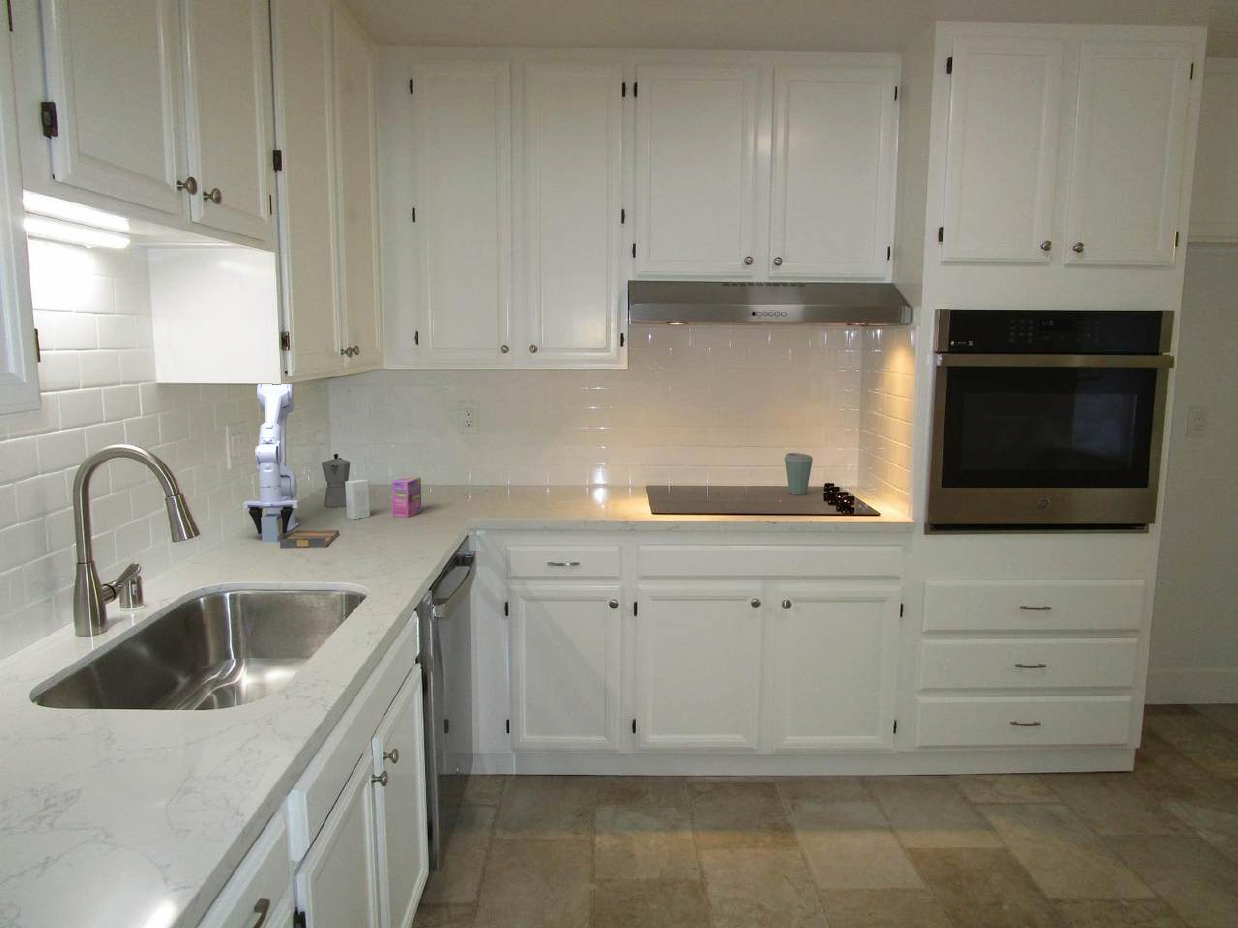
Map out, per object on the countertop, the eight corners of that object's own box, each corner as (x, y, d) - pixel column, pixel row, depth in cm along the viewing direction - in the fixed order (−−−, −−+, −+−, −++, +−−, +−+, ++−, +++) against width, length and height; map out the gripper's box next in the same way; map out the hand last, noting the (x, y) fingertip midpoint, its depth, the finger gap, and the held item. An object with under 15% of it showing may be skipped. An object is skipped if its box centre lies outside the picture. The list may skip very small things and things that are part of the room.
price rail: (281, 547, 235) (280, 538, 235) (326, 546, 236) (325, 537, 236) (279, 548, 234) (279, 539, 234) (325, 547, 235) (324, 538, 235)
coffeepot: (348, 508, 290) (346, 456, 288) (319, 509, 289) (317, 456, 287) (356, 500, 306) (354, 450, 303) (328, 501, 304) (326, 450, 302)
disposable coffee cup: (816, 492, 326) (817, 453, 324) (806, 496, 317) (807, 456, 315) (789, 490, 332) (790, 451, 330) (779, 494, 323) (780, 454, 321)
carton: (262, 542, 241) (261, 518, 240) (268, 537, 247) (267, 513, 246) (277, 542, 242) (276, 517, 241) (283, 537, 248) (282, 513, 247)
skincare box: (362, 515, 280) (361, 479, 278) (370, 517, 277) (368, 480, 275) (346, 518, 275) (344, 481, 273) (353, 519, 272) (352, 482, 271)
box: (408, 518, 276) (407, 481, 274) (392, 517, 277) (391, 481, 275) (422, 511, 286) (421, 476, 284) (406, 511, 287) (405, 476, 285)
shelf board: (296, 534, 251) (296, 530, 251) (338, 533, 252) (338, 529, 252) (281, 547, 235) (281, 543, 235) (326, 546, 236) (326, 542, 236)
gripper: (238, 488, 238) (241, 536, 239) (292, 488, 239) (295, 535, 241) (247, 484, 245) (249, 531, 246) (299, 483, 246) (301, 530, 248)
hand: (272, 533), depth 244 cm, fingers open, 6 cm apart
